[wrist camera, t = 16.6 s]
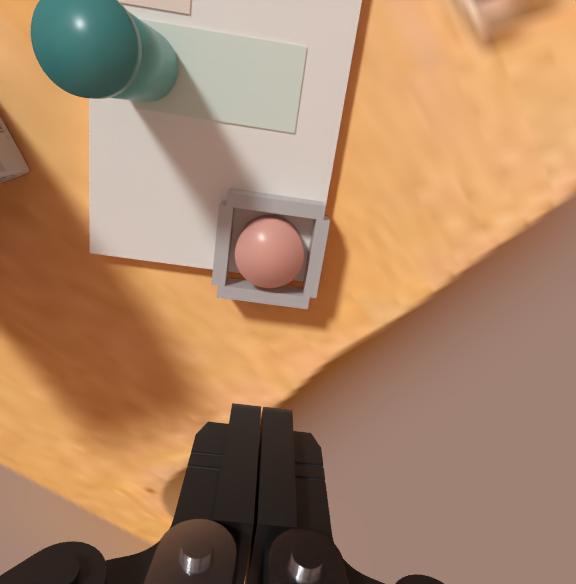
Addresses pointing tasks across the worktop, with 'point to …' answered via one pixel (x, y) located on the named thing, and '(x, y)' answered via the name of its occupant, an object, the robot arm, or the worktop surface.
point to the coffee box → (10, 156)
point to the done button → (269, 251)
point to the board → (226, 138)
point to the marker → (102, 51)
